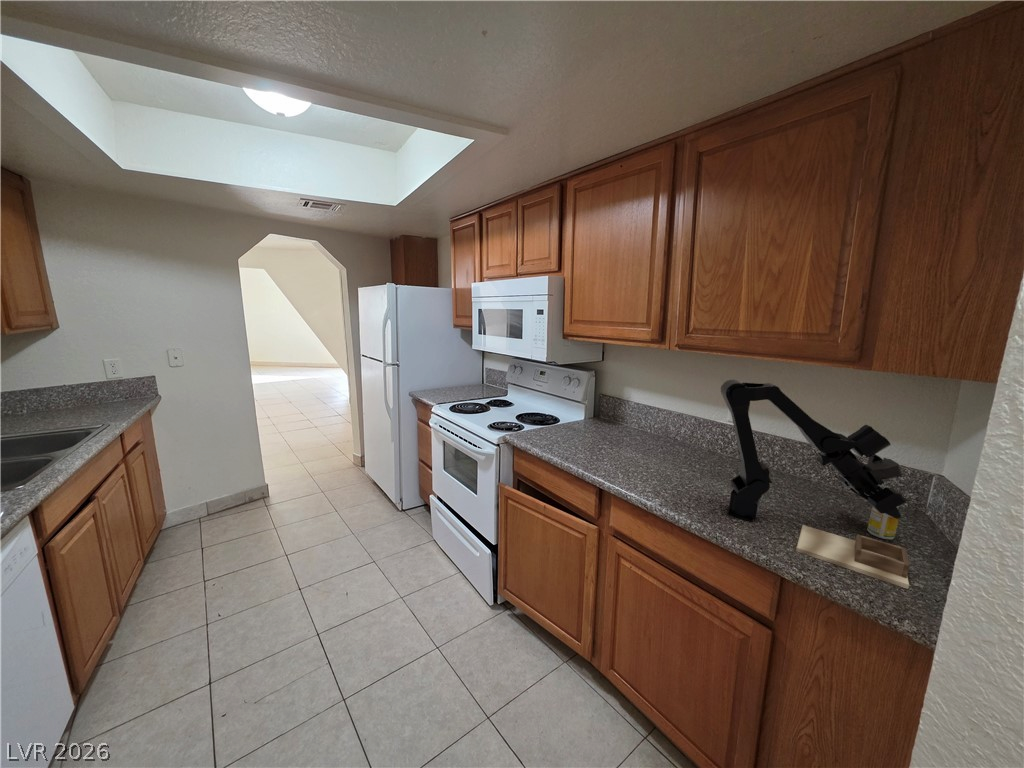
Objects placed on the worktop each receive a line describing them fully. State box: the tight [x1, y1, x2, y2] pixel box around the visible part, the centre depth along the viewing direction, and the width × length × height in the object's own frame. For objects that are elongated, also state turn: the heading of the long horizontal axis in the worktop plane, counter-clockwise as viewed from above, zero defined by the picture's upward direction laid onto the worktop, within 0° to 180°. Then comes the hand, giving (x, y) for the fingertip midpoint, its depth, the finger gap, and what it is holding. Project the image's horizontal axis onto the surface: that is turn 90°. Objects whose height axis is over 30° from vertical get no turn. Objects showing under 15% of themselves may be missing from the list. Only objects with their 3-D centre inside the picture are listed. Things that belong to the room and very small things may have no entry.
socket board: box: [795, 524, 910, 590], centre depth 94 cm, size 20×14×4 cm
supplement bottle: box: [867, 506, 900, 540], centre depth 103 cm, size 5×5×10 cm
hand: (892, 512), depth 102 cm, fingers closed on supplement bottle, 5 cm apart
